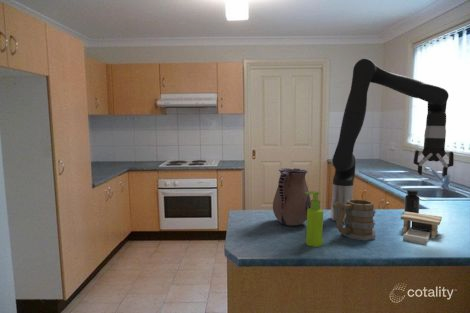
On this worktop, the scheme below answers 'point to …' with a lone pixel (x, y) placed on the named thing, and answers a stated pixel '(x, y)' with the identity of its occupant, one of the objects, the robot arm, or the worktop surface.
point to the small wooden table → (421, 222)
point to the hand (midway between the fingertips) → (431, 175)
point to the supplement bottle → (412, 201)
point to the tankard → (356, 219)
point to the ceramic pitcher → (291, 197)
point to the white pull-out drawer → (416, 236)
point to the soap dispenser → (314, 222)
